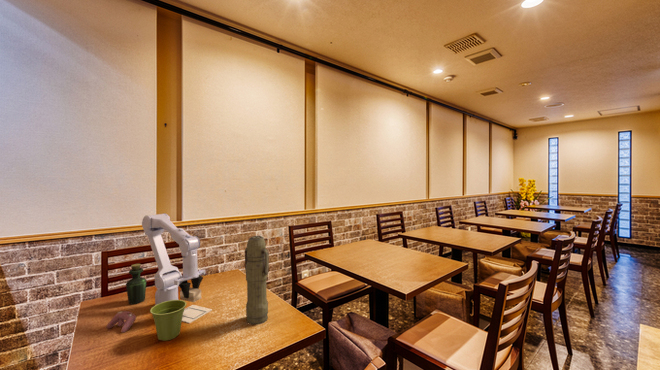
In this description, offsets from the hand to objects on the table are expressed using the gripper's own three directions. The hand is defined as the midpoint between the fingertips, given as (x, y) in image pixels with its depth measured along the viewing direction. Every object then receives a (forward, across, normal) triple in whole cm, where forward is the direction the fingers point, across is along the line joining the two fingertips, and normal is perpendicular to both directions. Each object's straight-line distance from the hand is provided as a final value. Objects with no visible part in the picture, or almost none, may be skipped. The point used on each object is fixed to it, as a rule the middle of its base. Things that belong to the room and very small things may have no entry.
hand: (190, 295), depth 119 cm
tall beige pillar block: (+2, 0, 0) cm, 2 cm away
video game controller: (+9, -18, +17) cm, 26 cm away
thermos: (+8, +7, -30) cm, 32 cm away
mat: (+8, 0, 0) cm, 8 cm away
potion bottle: (+8, -1, +35) cm, 36 cm away
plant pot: (+8, -15, -6) cm, 19 cm away
